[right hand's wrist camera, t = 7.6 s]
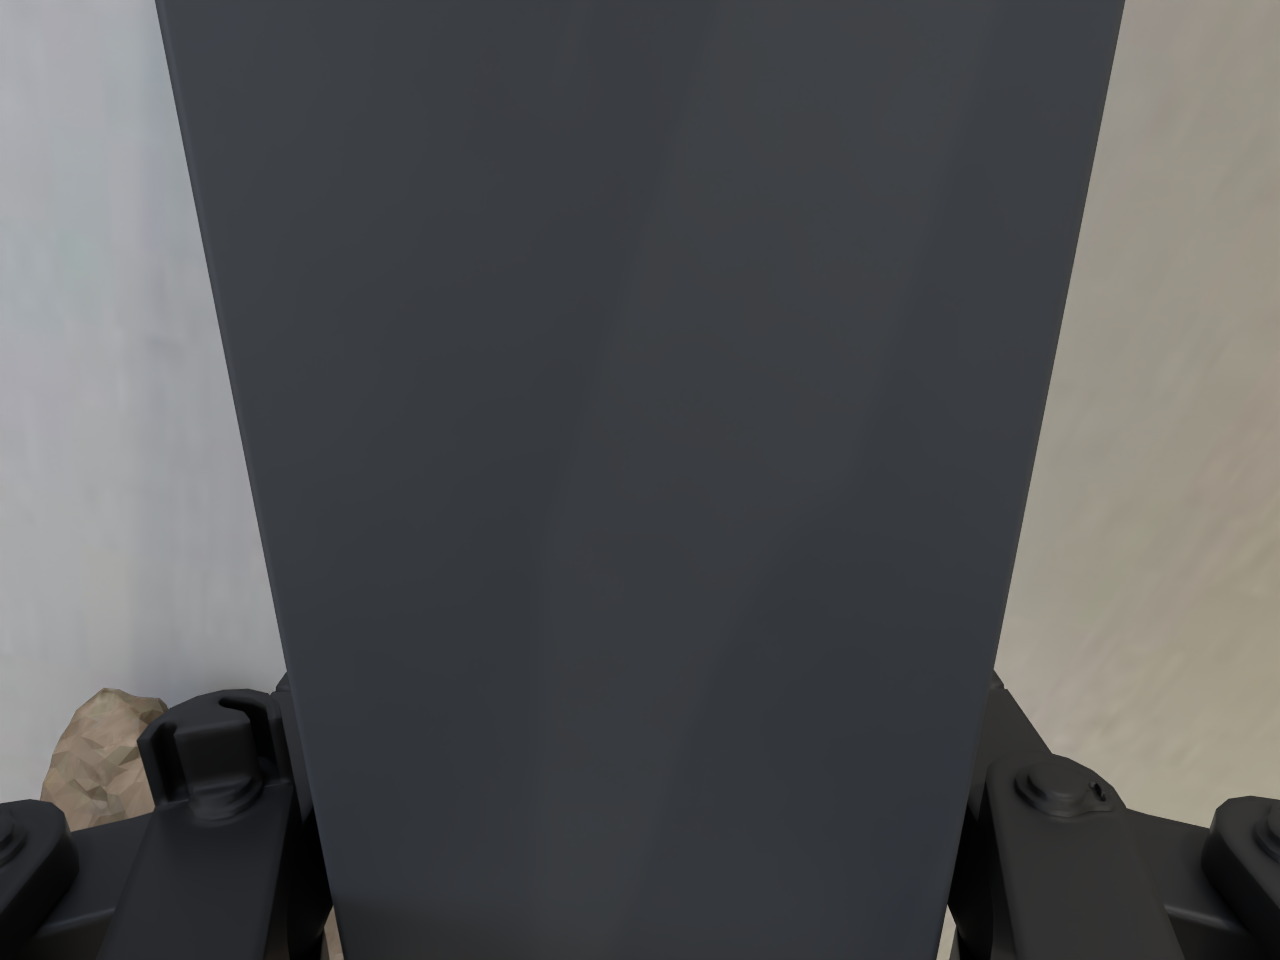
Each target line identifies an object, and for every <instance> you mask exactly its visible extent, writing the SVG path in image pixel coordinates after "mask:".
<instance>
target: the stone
mask: <svg viewBox="0 0 1280 960" xmlns="http://www.w3.org/2000/svg"><path fill="white" fill-rule="evenodd" d="M167 710H168V708H167V706H166V704H165V703H164V702H163V701H162V700H161V699H160V698H157V699H155V698H146V697H136V696H132V695H130V694H128V693H125V692H123V691H121V690H118V689H108V688H103V689H102V690H101V691H99V692H98V693H97V694H96V695H95V696H93V697H92V698H91V699H90V700H88V701H87V702H86V703H85V704H83V705H82V706H81V707H80V708H79V709H77V710H76V712H75V714H74V716H73V718H72V720H71V722H70V724H69V726H68V727H67V729H66V730H65V732H64V733H63V734H62V736H61V737H60V739H59V742H58V744H57V746H56V748H55V750H54V752H53V755H52V760H51V765H50V768H49V771H48V773H47V775H46V778H45V780H44V782H43V786H42V792H41V797H40V801H46V802H52V803H53V804H54V805H56V806H57V807H58V808H59V809H61V810H62V811H63V812H64V814H65V817H66V820H67V822H68V825H69V828H70V831H71V832H72V831H77V830H81V829H86V828H90V827H94V826H99V825H103V824H107V823H112V822H116V821H121V820H125V819H129V818H133V817H137V816H140V815H144V814H147V813H150V812H153V810H154V808H155V805H154V801H153V798H152V794H151V791H150V787H149V784H148V780H147V777H146V773H145V770H144V766H143V763H142V759H141V756H140V752H139V749H138V745H137V742H136V740H137V739H138V738H139V736H140V735H141V734H142V732H143V731H144V730H145V728H146V727H147V726H148V724H149V723H151V722H152V721H153V720H155V719H156V718H158V717H159V716H160V715H162V714H163V713H164V712H166V711H167ZM324 929H325V934H326V939H327V945H328V951H329V958H330V960H344V958H343V953H342V948H341V943H340V938H339V933H338V927H337V922H336V917H335V912H334V907H332V909H331V912H330V914H329V917H328V919H327V921H326V924H325V926H324Z"/></svg>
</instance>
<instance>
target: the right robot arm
mask: <svg viewBox="0 0 1280 960" xmlns="http://www.w3.org/2000/svg"><path fill="white" fill-rule="evenodd" d="M136 742H137V745H138V749H139V752H140V756H141V759H142V763H143V766H144V770H145V773H146V777H147V780H148V784H149V787H150V791H151V794H152V798H153V801H154V805H155V808H154V810H153V812H150V813H147V814H144V815H140V816H137V817H133V818H129V819H125V820H121V821H116V822H112V823H107V824H103V825H99V826H94V827H90V828H86V829H81V830H77V831H72V832H71V831H70V828H69V825H68V822H67V820H66V817H65V814H64V812H63V811H62V810H61V809H59V808H58V807H57V806H56V805H54V804H53V803H52V802H46V801H39V800H32V799H28V800H21V801H14V802H7V803H1V804H0V960H330V958H329V951H328V945H327V939H326V934H325V929H324V926H325V924H326V921H327V919H328V917H329V914H330V912H331V909H332V907H333V902H332V897H331V892H330V887H329V882H328V877H327V872H326V867H325V861H324V856H323V851H322V846H321V841H320V836H319V831H318V826H317V821H316V816H315V811H314V806H313V800H312V795H311V790H310V785H309V780H308V775H307V770H306V765H305V760H304V755H303V750H302V745H301V740H300V734H299V729H298V724H297V719H296V714H295V709H294V704H293V699H292V694H291V689H290V684H289V679H288V674H287V672H286V673H285V675H284V676H283V678H282V679H281V681H280V682H279V683H278V685H277V686H276V692H272V694H271V695H269V694H268V693H264V692H259V691H255V690H251V689H232V690H221V691H217V692H213V693H209V694H205V695H201V696H196V697H194V698H192V699H190V700H188V701H185V702H183V703H181V704H179V705H176V706H174V707H172V708H170V709H169V710H167V711H166V712H164V713H163V714H162V715H160V716H159V717H158V718H156V719H155V720H153V721H152V722H151V723H149V724H148V726H147V727H146V728H145V730H144V731H143V732H142V734H141V735H140V736H139V738H138V739H137V740H136ZM947 904H948V907H949V909H950V912H951V914H952V916H953V919H954V921H955V924H956V929H955V934H954V939H953V944H952V949H951V954H950V959H949V960H1280V800H1277V799H1270V798H1263V797H1256V796H1245V797H1238V798H1231V799H1228V800H1227V801H1225V802H1224V803H1223V804H1222V805H1221V806H1219V807H1218V808H1217V809H1216V811H1215V814H1214V817H1213V820H1212V823H1211V826H1210V829H1209V828H1205V827H1200V826H1196V825H1192V824H1187V823H1183V822H1178V821H1174V820H1169V819H1165V818H1161V817H1156V816H1152V815H1147V814H1144V813H1141V812H1137V811H1134V810H1131V809H1127V808H1126V806H1125V804H1124V803H1123V801H1122V800H1121V798H1120V797H1119V795H1118V794H1117V792H1116V791H1115V789H1114V788H1113V787H1112V786H1111V785H1110V784H1109V783H1108V782H1106V781H1105V780H1104V779H1103V778H1101V777H1100V776H1099V775H1098V774H1097V773H1095V772H1094V771H1093V770H1091V769H1089V768H1087V767H1085V766H1083V765H1081V764H1079V763H1077V762H1075V761H1073V760H1071V759H1069V758H1066V757H1062V756H1059V755H1055V754H1052V753H1051V751H1050V750H1049V748H1048V747H1047V746H1046V744H1045V743H1044V741H1043V740H1042V738H1041V737H1040V736H1039V734H1038V733H1037V731H1036V730H1035V728H1034V727H1033V725H1032V724H1031V723H1030V721H1029V720H1028V718H1027V717H1026V715H1025V714H1024V713H1023V711H1022V710H1021V708H1020V707H1019V705H1018V704H1017V702H1016V701H1015V700H1014V698H1013V697H1012V695H1011V694H1010V692H1009V691H1008V690H1007V689H1004V684H1003V682H1002V681H1001V679H1000V678H999V677H998V675H997V674H996V672H995V671H994V670H993V674H992V679H991V684H990V689H989V694H988V699H987V704H986V710H985V715H984V720H983V725H982V730H981V735H980V740H979V745H978V750H977V755H976V760H975V765H974V771H973V776H972V781H971V786H970V791H969V796H968V801H967V806H966V811H965V816H964V821H963V826H962V831H961V837H960V842H959V847H958V852H957V857H956V862H955V867H954V872H953V877H952V882H951V887H950V892H949V897H948V903H947Z"/></svg>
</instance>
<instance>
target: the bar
mask: <svg viewBox="0 0 1280 960" xmlns="http://www.w3.org/2000/svg"><path fill="white" fill-rule="evenodd" d="M155 3H156V8H157V13H158V18H159V23H160V29H161V34H162V39H163V44H164V49H165V54H166V59H167V64H168V69H169V74H170V79H171V84H172V89H173V95H174V100H175V105H176V110H177V115H178V120H179V125H180V130H181V135H182V140H183V145H184V150H185V156H186V161H187V166H188V171H189V176H190V181H191V186H192V191H193V196H194V201H195V206H196V211H197V216H198V222H199V227H200V232H201V237H202V242H203V247H204V252H205V257H206V262H207V267H208V272H209V277H210V282H211V288H212V293H213V298H214V303H215V308H216V313H217V318H218V323H219V328H220V333H221V338H222V343H223V348H224V354H225V359H226V364H227V369H228V374H229V379H230V384H231V389H232V394H233V399H234V404H235V409H236V415H237V420H238V425H239V430H240V435H241V440H242V445H243V450H244V455H245V460H246V465H247V470H248V475H249V481H250V486H251V491H252V496H253V501H254V506H255V511H256V516H257V521H258V526H259V531H260V536H261V541H262V547H263V552H264V557H265V562H266V567H267V572H268V577H269V582H270V587H271V592H272V597H273V602H274V608H275V613H276V618H277V623H278V628H279V633H280V638H281V643H282V648H283V653H284V658H285V663H286V668H287V674H288V679H289V684H290V689H291V694H292V699H293V704H294V709H295V714H296V719H297V724H298V729H299V734H300V740H301V745H302V750H303V755H304V760H305V765H306V770H307V775H308V780H309V785H310V790H311V795H312V800H313V806H314V811H315V816H316V821H317V826H318V831H319V836H320V841H321V846H322V851H323V856H324V861H325V867H326V872H327V877H328V882H329V887H330V892H331V897H332V902H333V907H334V912H335V917H336V922H337V927H338V933H339V938H340V943H341V948H342V953H343V958H344V960H936V958H937V953H938V948H939V943H940V938H941V933H942V928H943V923H944V918H945V913H946V908H947V903H948V897H949V892H950V887H951V882H952V877H953V872H954V867H955V862H956V857H957V852H958V847H959V842H960V837H961V831H962V826H963V821H964V816H965V811H966V806H967V801H968V796H969V791H970V786H971V781H972V776H973V771H974V765H975V760H976V755H977V750H978V745H979V740H980V735H981V730H982V725H983V720H984V715H985V710H986V704H987V699H988V694H989V689H990V684H991V679H992V674H993V669H994V664H995V659H996V654H997V649H998V644H999V638H1000V633H1001V628H1002V623H1003V618H1004V613H1005V608H1006V603H1007V598H1008V593H1009V588H1010V583H1011V578H1012V572H1013V567H1014V562H1015V557H1016V552H1017V547H1018V542H1019V537H1020V532H1021V527H1022V522H1023V517H1024V512H1025V506H1026V501H1027V496H1028V491H1029V486H1030V481H1031V476H1032V471H1033V466H1034V461H1035V456H1036V451H1037V445H1038V440H1039V435H1040V430H1041V425H1042V420H1043V415H1044V410H1045V405H1046V400H1047V395H1048V390H1049V385H1050V379H1051V374H1052V369H1053V364H1054V359H1055V354H1056V349H1057V344H1058V339H1059V334H1060V329H1061V324H1062V319H1063V313H1064V308H1065V303H1066V298H1067V293H1068V288H1069V283H1070V278H1071V273H1072V268H1073V263H1074V258H1075V252H1076V247H1077V242H1078V237H1079V232H1080V227H1081V222H1082V217H1083V212H1084V207H1085V202H1086V197H1087V192H1088V186H1089V181H1090V176H1091V171H1092V166H1093V161H1094V156H1095V151H1096V146H1097V141H1098V136H1099V131H1100V126H1101V120H1102V115H1103V110H1104V105H1105V100H1106V95H1107V90H1108V85H1109V80H1110V75H1111V70H1112V65H1113V60H1114V54H1115V49H1116V44H1117V39H1118V34H1119V29H1120V24H1121V19H1122V14H1123V9H1124V4H1125V0H155Z"/></svg>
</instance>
